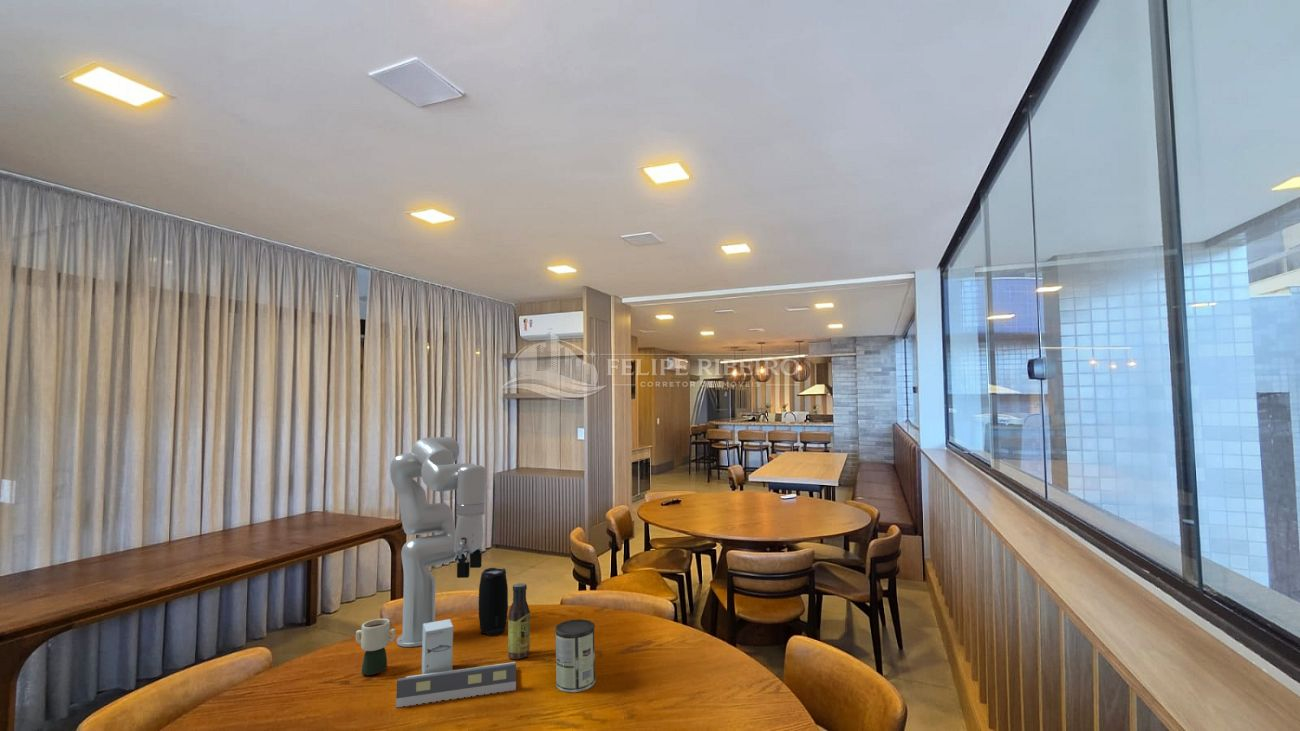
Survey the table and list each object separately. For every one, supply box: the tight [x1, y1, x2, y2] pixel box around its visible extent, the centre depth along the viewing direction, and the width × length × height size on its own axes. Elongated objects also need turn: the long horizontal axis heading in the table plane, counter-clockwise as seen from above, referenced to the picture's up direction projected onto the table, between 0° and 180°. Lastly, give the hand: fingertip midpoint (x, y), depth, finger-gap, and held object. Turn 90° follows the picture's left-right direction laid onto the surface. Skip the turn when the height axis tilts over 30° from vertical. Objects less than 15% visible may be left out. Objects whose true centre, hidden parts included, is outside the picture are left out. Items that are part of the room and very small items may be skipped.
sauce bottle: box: [507, 582, 531, 660], centre depth 155 cm, size 7×6×20 cm
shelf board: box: [395, 661, 517, 709], centre depth 135 cm, size 12×28×2 cm, turn 105°
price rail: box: [395, 662, 517, 699], centre depth 131 cm, size 1×28×4 cm, turn 105°
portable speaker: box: [478, 567, 509, 637], centre depth 174 cm, size 9×9×20 cm
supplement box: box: [421, 618, 454, 675], centre depth 145 cm, size 7×7×13 cm
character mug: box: [355, 618, 396, 676], centre depth 146 cm, size 11×7×13 cm, turn 91°
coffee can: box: [554, 618, 596, 693], centre depth 137 cm, size 10×10×14 cm
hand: (469, 572), depth 146 cm, fingers open, 9 cm apart
